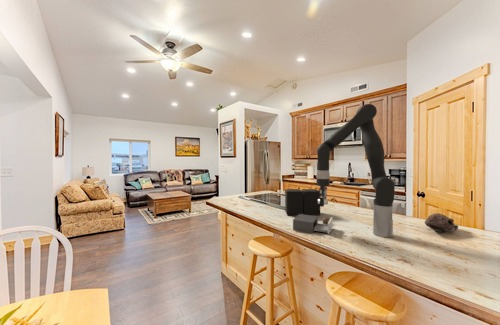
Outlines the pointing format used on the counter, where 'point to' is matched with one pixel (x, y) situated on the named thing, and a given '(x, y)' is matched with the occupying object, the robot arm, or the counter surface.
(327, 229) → the drawer
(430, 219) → the brown toy animal
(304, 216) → the cylinder
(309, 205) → the speaker
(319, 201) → the disc
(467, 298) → the counter surface
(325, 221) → the brown rounded cylinder
